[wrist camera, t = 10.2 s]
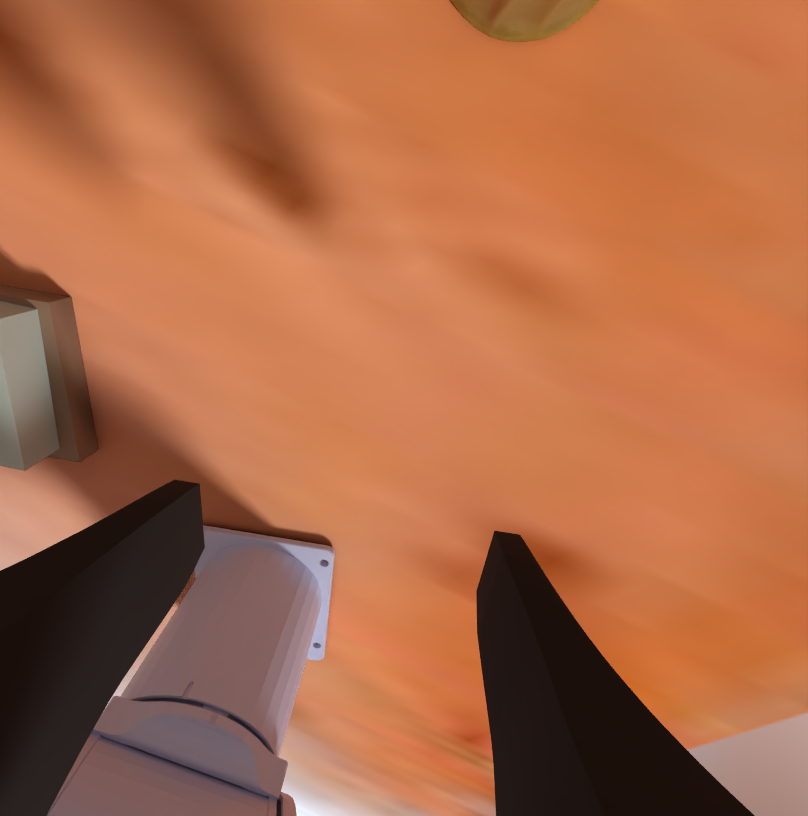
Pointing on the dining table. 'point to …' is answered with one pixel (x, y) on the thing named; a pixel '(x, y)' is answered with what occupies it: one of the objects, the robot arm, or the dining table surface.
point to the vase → (522, 17)
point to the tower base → (62, 370)
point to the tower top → (24, 390)
